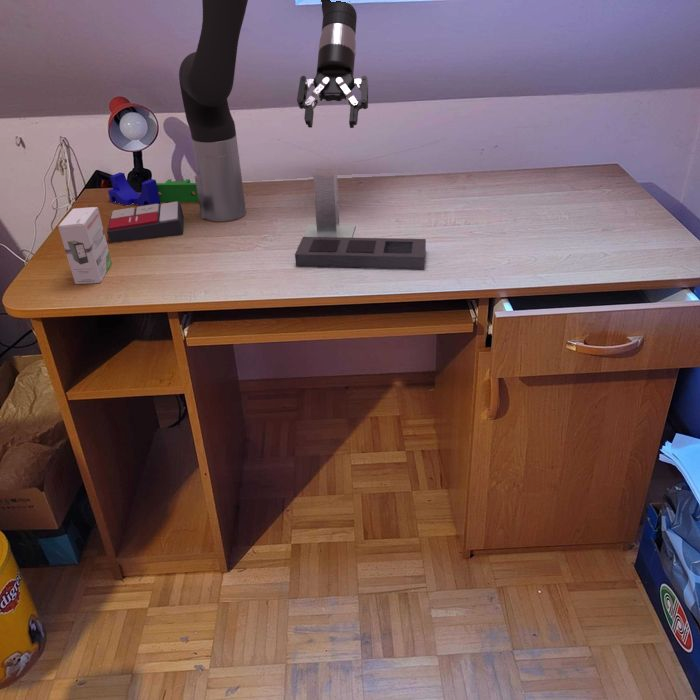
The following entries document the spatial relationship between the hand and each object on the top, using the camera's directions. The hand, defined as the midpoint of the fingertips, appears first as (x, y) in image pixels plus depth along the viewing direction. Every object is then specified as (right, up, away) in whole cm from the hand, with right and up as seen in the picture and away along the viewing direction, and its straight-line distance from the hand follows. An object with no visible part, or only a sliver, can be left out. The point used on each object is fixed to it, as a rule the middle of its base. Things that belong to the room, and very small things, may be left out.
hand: (330, 125), depth 134 cm
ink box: (-45, -31, -7) cm, 55 cm away
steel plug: (0, -21, +3) cm, 21 cm away
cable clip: (-47, -11, +23) cm, 53 cm away
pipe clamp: (-36, -10, +24) cm, 45 cm away
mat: (0, -22, +3) cm, 22 cm away
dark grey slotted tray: (+6, -28, -6) cm, 29 cm away
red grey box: (-40, -19, +10) cm, 45 cm away
